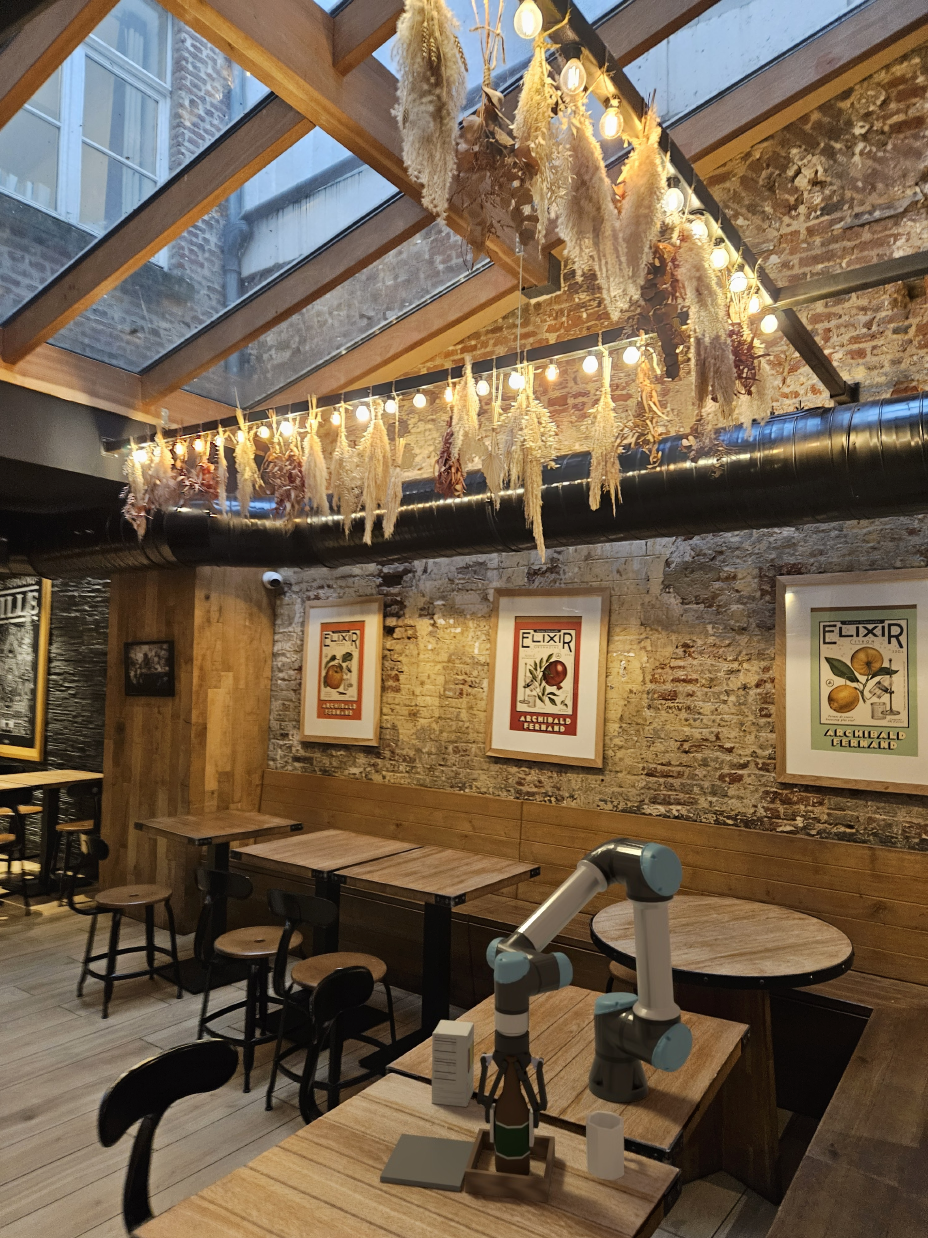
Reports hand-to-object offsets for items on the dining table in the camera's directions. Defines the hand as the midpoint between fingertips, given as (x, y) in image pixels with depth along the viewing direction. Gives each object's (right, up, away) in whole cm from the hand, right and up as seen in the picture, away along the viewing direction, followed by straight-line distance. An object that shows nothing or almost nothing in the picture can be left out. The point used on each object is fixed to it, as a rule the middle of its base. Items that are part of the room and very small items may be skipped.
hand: (512, 1141), depth 171 cm
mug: (+21, -7, +3) cm, 23 cm away
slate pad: (-18, -7, +3) cm, 19 cm away
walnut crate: (0, -6, -1) cm, 6 cm away
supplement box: (-13, -10, +32) cm, 36 cm away
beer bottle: (0, -6, -1) cm, 6 cm away
